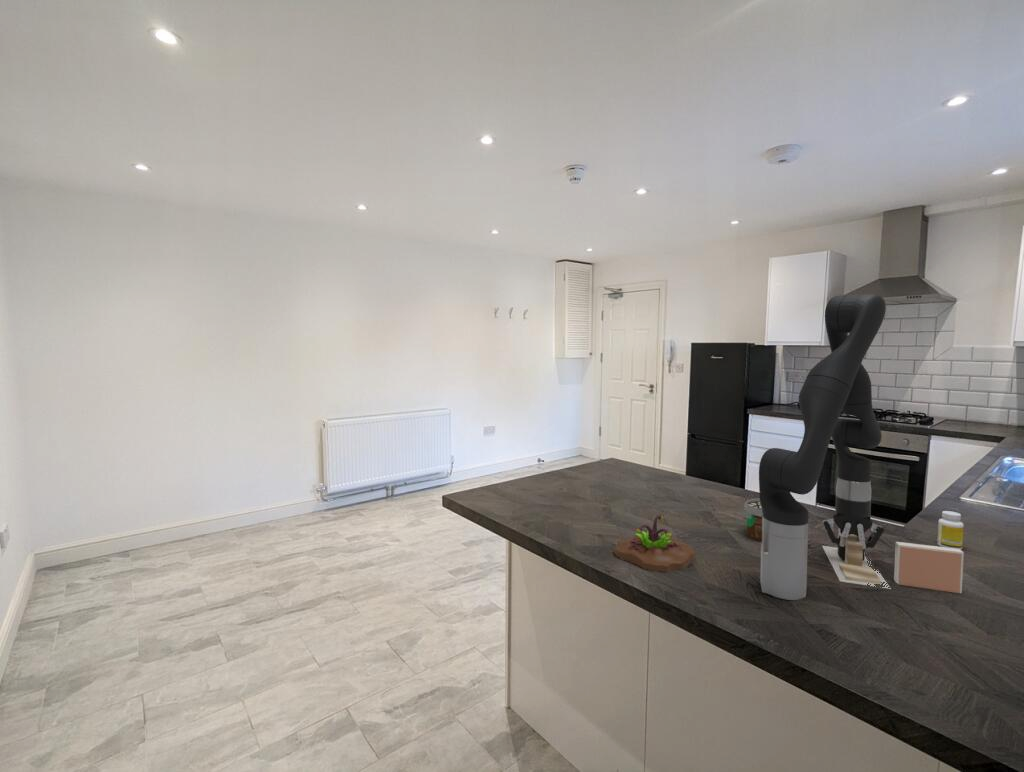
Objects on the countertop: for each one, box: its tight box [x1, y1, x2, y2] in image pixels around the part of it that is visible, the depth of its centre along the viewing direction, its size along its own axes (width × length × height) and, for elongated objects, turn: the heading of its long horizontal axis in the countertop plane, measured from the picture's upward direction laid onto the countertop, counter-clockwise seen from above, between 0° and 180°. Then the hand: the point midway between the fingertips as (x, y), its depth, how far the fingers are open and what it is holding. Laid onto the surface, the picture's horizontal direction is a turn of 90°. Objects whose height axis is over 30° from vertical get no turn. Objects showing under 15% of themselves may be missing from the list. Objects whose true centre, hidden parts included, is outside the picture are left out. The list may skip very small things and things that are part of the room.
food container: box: [743, 498, 763, 542], centre depth 147 cm, size 12×6×10 cm, turn 141°
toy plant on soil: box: [613, 514, 697, 574], centre depth 134 cm, size 20×20×11 cm
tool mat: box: [821, 545, 892, 590], centre depth 125 cm, size 10×23×1 cm, turn 157°
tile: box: [893, 541, 965, 594], centre depth 113 cm, size 12×2×10 cm, turn 67°
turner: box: [837, 528, 881, 585], centre depth 125 cm, size 20×7×6 cm, turn 157°
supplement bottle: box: [936, 510, 965, 551], centre depth 137 cm, size 5×5×10 cm
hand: (850, 559), depth 127 cm, fingers closed on turner, 3 cm apart
